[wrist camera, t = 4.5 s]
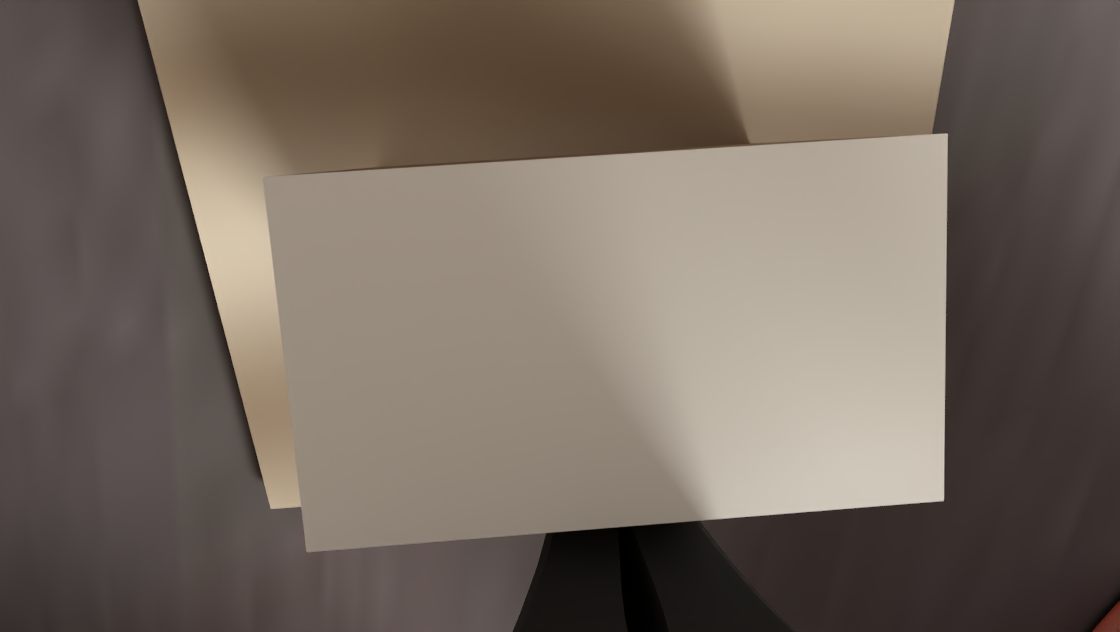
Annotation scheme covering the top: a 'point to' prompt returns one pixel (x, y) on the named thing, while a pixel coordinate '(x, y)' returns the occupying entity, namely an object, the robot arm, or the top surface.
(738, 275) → the beige rectangular block
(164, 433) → the top surface
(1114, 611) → the cracker box
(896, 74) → the board
